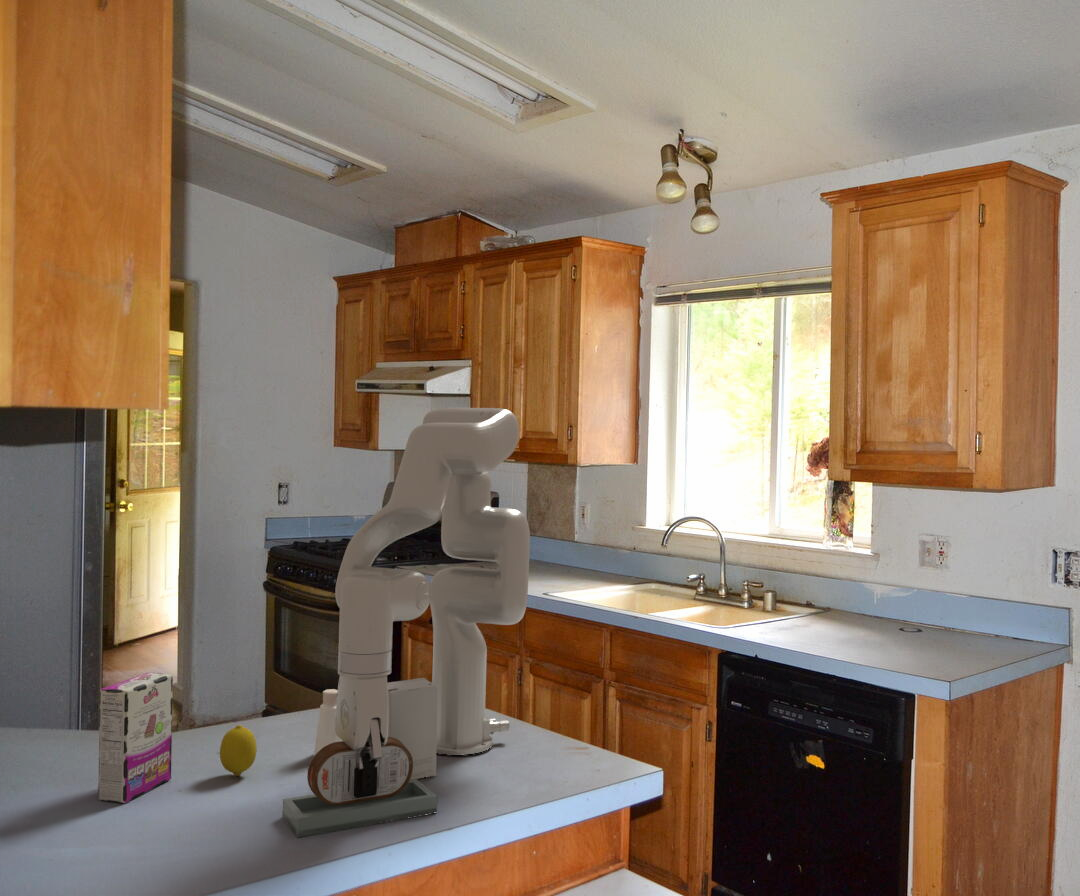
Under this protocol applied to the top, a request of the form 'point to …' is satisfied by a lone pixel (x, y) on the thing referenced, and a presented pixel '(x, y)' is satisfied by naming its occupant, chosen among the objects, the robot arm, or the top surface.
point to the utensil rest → (356, 810)
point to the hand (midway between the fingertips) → (361, 791)
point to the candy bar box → (135, 736)
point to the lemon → (238, 750)
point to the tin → (336, 772)
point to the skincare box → (415, 722)
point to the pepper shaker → (327, 721)
